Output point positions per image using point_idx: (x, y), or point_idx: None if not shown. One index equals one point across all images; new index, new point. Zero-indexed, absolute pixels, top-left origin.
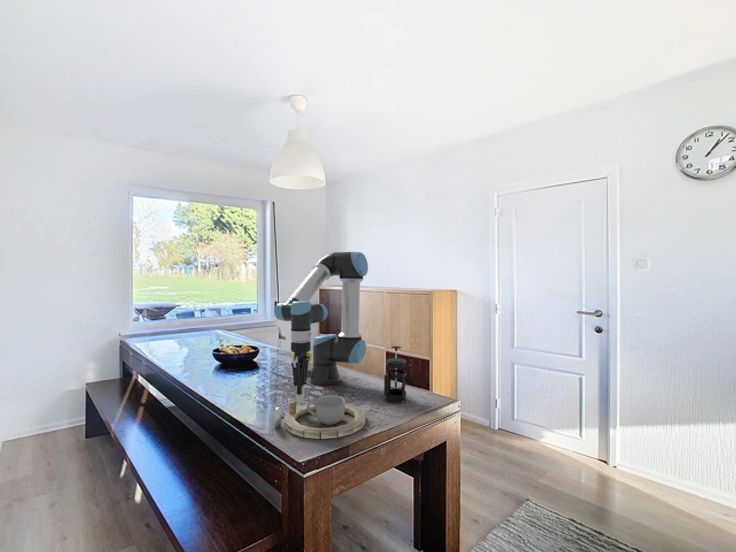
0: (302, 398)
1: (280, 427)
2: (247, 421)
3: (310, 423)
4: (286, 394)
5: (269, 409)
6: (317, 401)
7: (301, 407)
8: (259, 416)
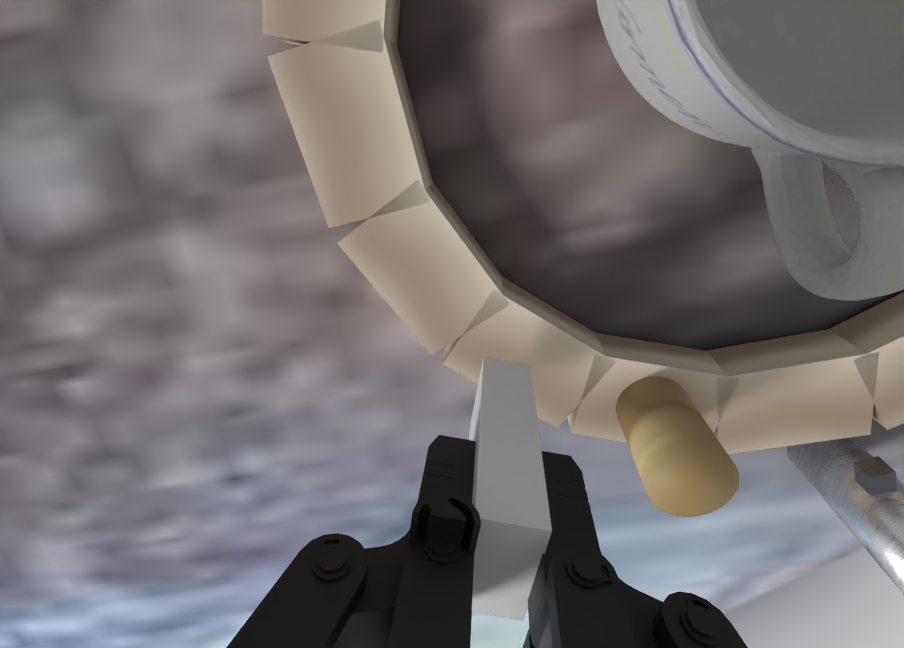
0: (533, 399)
1: None
2: None
3: None
4: (94, 509)
5: None
6: (870, 140)
7: (502, 353)
8: None
